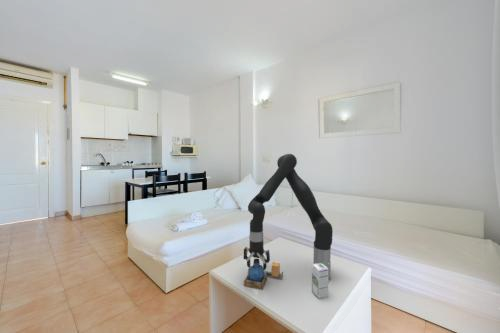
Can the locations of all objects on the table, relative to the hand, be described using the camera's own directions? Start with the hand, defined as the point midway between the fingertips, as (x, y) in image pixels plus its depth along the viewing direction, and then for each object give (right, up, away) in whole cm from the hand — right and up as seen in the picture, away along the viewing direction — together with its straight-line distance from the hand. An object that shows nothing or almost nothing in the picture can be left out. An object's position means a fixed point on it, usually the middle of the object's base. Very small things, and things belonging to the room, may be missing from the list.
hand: (256, 268), depth 113 cm
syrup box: (+31, -9, -9) cm, 34 cm away
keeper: (0, -8, +1) cm, 8 cm away
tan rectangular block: (+9, -7, +7) cm, 13 cm away
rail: (+5, -8, +8) cm, 13 cm away
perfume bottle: (0, -8, +1) cm, 8 cm away
